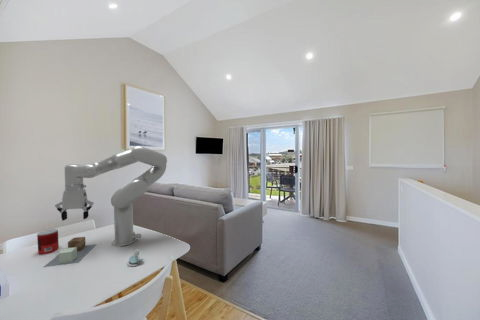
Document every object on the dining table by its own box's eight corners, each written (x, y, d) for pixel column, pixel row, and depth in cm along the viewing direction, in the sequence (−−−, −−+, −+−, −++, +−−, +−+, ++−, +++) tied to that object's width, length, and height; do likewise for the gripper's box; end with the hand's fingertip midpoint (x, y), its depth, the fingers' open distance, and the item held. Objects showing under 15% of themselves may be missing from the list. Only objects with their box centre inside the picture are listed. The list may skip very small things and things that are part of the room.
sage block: (77, 256, 100) (76, 247, 100) (71, 262, 95) (71, 251, 95) (65, 258, 99) (65, 248, 99) (59, 263, 94) (58, 253, 94)
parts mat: (97, 244, 114) (97, 244, 114) (78, 263, 95) (78, 262, 95) (68, 247, 111) (68, 247, 111) (42, 268, 91) (42, 267, 91)
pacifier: (132, 269, 90) (145, 262, 95) (131, 255, 90) (144, 249, 95) (124, 264, 94) (136, 258, 99) (123, 251, 94) (135, 246, 99)
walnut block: (85, 246, 112) (85, 236, 111) (80, 250, 106) (79, 240, 106) (74, 247, 110) (73, 237, 110) (68, 252, 105) (67, 242, 105)
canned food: (62, 248, 110) (61, 228, 110) (47, 255, 102) (46, 234, 102) (50, 247, 111) (49, 228, 111) (34, 255, 103) (33, 234, 103)
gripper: (96, 185, 113) (96, 215, 113) (59, 187, 109) (60, 218, 109) (89, 188, 105) (90, 220, 106) (50, 189, 101) (51, 222, 102)
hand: (75, 219), depth 108 cm, fingers open, 9 cm apart
